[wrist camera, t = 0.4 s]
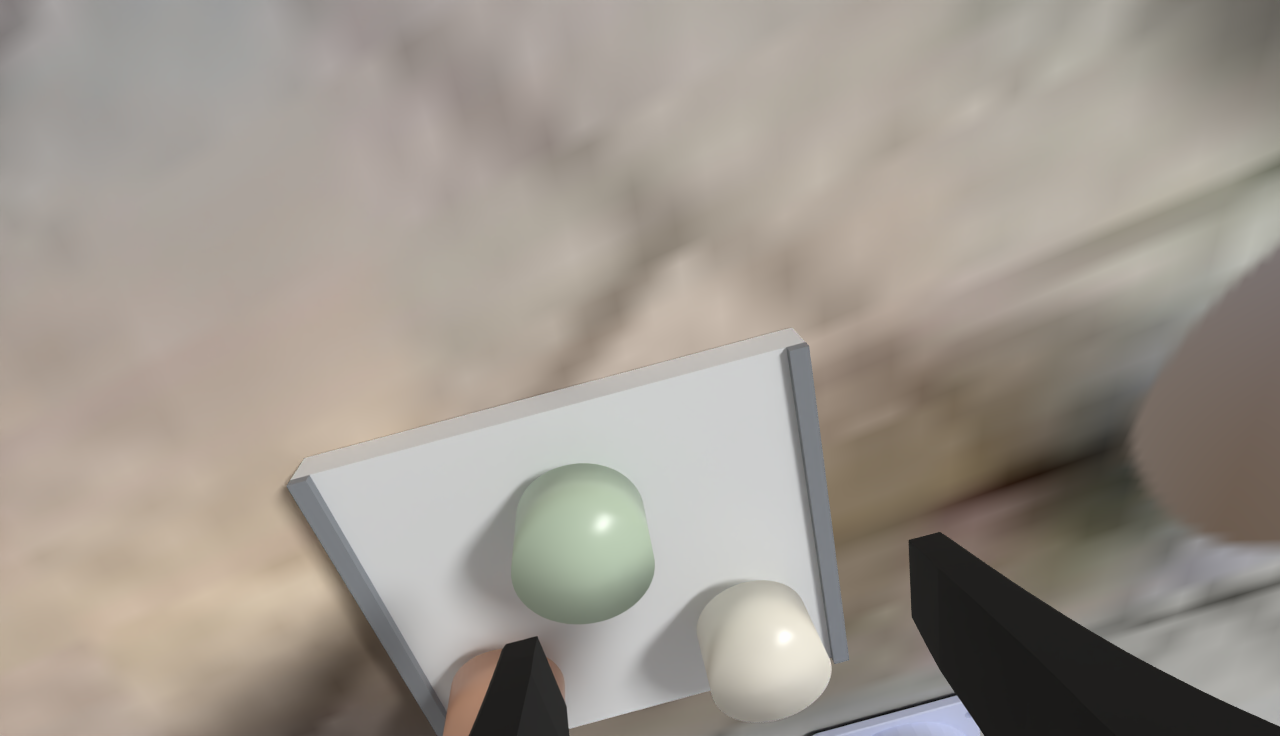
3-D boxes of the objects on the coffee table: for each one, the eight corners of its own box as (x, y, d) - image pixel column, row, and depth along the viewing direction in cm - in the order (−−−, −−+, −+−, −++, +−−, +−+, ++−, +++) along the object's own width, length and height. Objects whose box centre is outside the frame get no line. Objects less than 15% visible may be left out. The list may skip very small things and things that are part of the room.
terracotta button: (577, 709, 24) (580, 773, 21) (473, 737, 24) (465, 805, 21) (546, 635, 22) (544, 698, 20) (433, 666, 22) (420, 731, 20)
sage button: (656, 548, 21) (668, 603, 19) (538, 579, 21) (536, 639, 19) (627, 448, 19) (636, 496, 17) (498, 483, 19) (490, 536, 17)
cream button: (811, 646, 24) (836, 703, 21) (707, 674, 24) (723, 734, 21) (798, 567, 22) (824, 622, 20) (686, 598, 22) (700, 655, 20)
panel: (834, 629, 26) (848, 659, 25) (461, 730, 26) (456, 766, 25) (791, 327, 20) (808, 345, 19) (304, 458, 20) (286, 486, 19)
